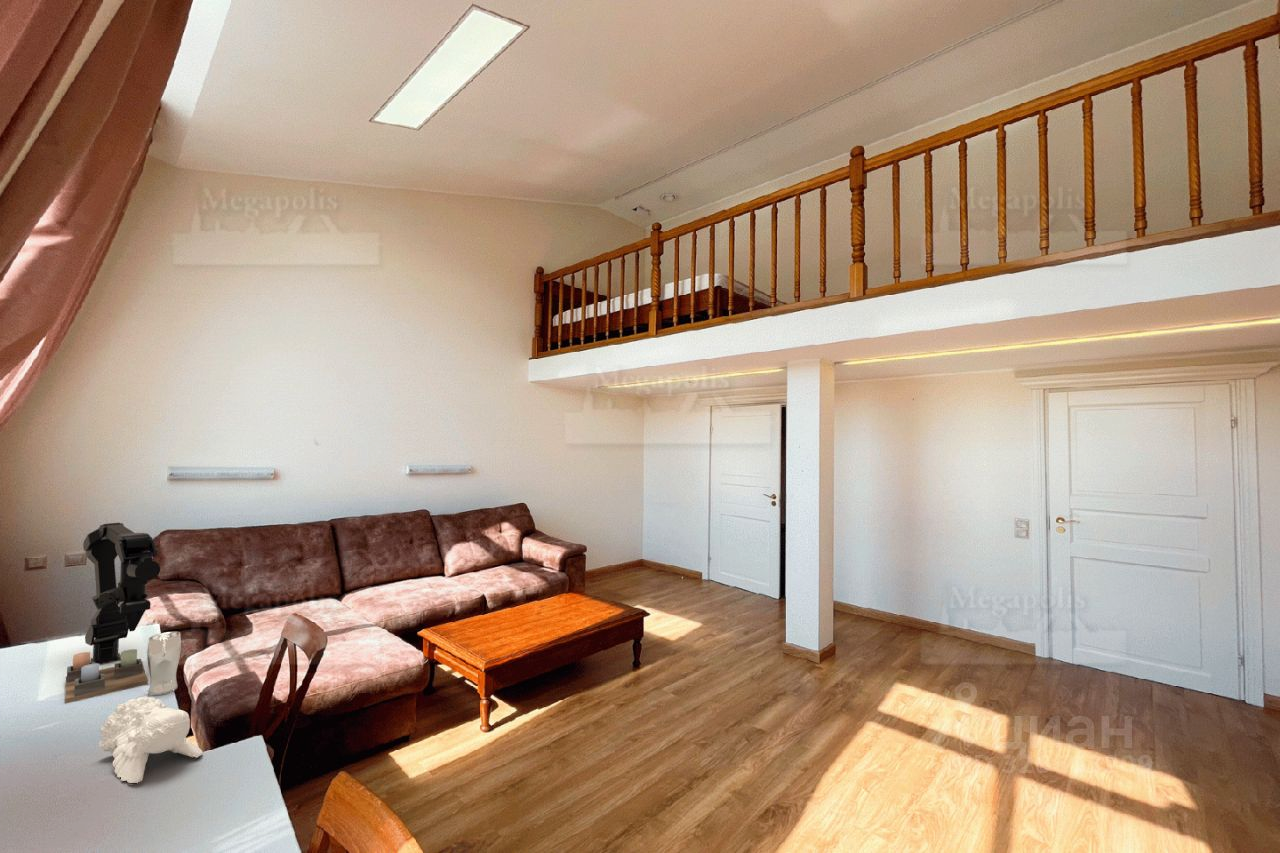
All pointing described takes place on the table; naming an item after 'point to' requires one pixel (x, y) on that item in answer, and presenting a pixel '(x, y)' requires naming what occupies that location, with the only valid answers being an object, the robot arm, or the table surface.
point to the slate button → (90, 673)
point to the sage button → (128, 658)
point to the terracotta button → (81, 660)
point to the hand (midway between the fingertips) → (132, 630)
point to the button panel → (104, 681)
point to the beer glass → (163, 662)
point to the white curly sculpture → (144, 735)
